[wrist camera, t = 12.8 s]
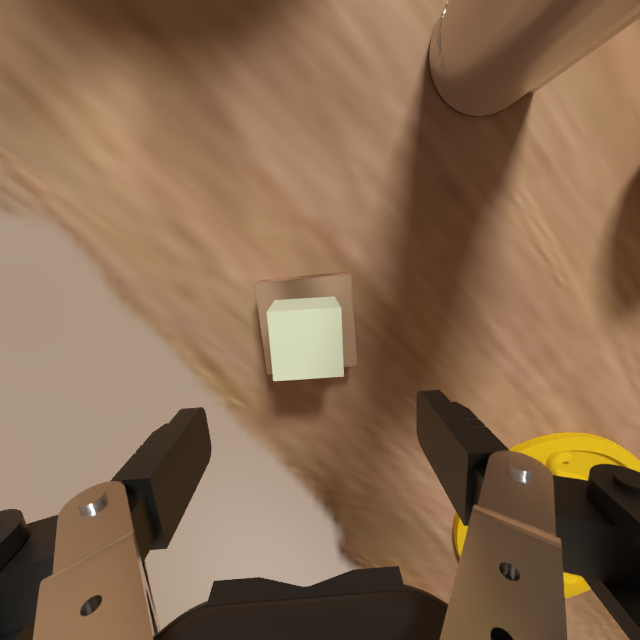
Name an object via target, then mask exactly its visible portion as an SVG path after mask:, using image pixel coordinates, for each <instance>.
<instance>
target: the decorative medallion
mask: <svg viewBox="0 0 640 640" xmlns="http://www.w3.org/2000/svg"><path fill="white" fill-rule="evenodd" d="M509 450H510V451H514V452H519V453H523V454H526V455H528V456H530V457H533V458H534V459H536V460H538V461H540V462H541V463H542V464H544V465H545V466H546V467H547V468H548V469H549V470H550V472H551V473H552V475H556V476H562V477H569V478H575V479H582V480H588V477H589V471H590V469H591V467H593V466H594V465H598V464H613V465H618V466H623V467H626V468H629V469H632V470H635V471H638V472H640V461H639V460H638V459H637V458H636V457H635V456H634V455H632V454H631V453H629V452H628V451H627V450H625V449H624V448H622V447H621V446H619V445H618V444H616V443H614V442H612V441H610V440H608V439H606V438H603V437H599V436H596V435H592V434H586V433H572V432H567V433H555V434H550V435H545V436H541V437H537V438H534V439H531V440H528V441H526V442H523V443H521V444H519V445H516V446H514V447H513V448H511V449H509ZM467 529H468V526H464V525H463V523H462V521H461V519H460V517H459V516H458V514H457V512H456V515H455V519H454V529H453V535H454V544H455V547H456V551H457V554H458V556H459V558H460V557H461V553H462V549H463V545H464V541H465V537H466V533H467ZM563 578H564V594H565V598H568V597H572V596H575V595H578V594H580V593H583V592H585V591H587V590H589V589H591V588H590V586H589V585H588V584H587V582H586V581H585V580H584V578H583V577H582V576H578V575H573V574H569V573H565V572H563Z"/></svg>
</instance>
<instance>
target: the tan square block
mask: <svg viewBox="0 0 640 640" xmlns="http://www.w3.org/2000/svg"><path fill="white" fill-rule="evenodd" d="M255 292H256V299H257V306H258V313H259V320H260V327H261V334H262V341H263V348H264V355H265V362H266V370H267V375H268V374H273V372H272V362H271V352H270V342H269V331H268V321H267V311H268V309H269V308H270V306H271V305H272V303H273V302H274V300H285V299H301V298H318V297H334V296H335V298H336V300H337V301H338V303H339V305H340V306H341V314H342V340H343V365H344V367H348V366H357V353H356V338H355V323H354V308H353V293H352V278H351V274H349V273H347V272H341V273H330V274H320V275H309V276H299V277H288V278H278V279H267V280H261V281H259V282H257V283H255Z"/></svg>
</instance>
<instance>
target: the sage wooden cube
mask: <svg viewBox="0 0 640 640" xmlns="http://www.w3.org/2000/svg"><path fill="white" fill-rule="evenodd" d="M267 321H268V331H269V342H270V352H271V362H272V372H273V381H286V380H300V379H315V378H330V377H344V365H343V340H342V314H341V306H340V305H339V303H338V301H337V300H336V298H335V296H334V297H318V298H301V299H285V300H274V302H273V303H272V305H271V306H270V308H269V309H268V311H267Z"/></svg>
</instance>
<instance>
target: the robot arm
mask: <svg viewBox="0 0 640 640" xmlns="http://www.w3.org/2000/svg"><path fill="white" fill-rule="evenodd" d="M639 18H640V0H449V1H448V3H447V4H446V6H445V8H444V10H443V12H442V14H441V15H440V17H439V19H438V22H437V24H436V26H435V28H434V31H433V35H432V38H431V42H430V51H429V62H430V71H431V75H432V79H433V82H434V84H435V86H436V88H437V90H438V92H439V94H440V95H441V97H442V98H443V99H444V100H445V102H446V103H447V104H449V105H450V106H451V107H453V108H454V109H455V110H457V111H459V112H462V113H464V114H467V115H472V116H486V115H490V114H494V113H497V112H499V111H501V110H503V109H505V108H506V107H508V106H510V105H511V104H513V103H514V102H515V101H517V100H518V99H519V98H521V97H522V96H524V95H525V94H527V93H534V92H536V91H537V90H539V89H540V88H542V87H543V86H544V85H546V84H547V83H549V82H550V81H551V80H553V79H554V78H556V77H557V76H559V75H560V74H561V73H563V72H564V71H566V70H567V69H568V68H570V67H571V66H573V65H574V64H575V63H577V62H578V61H580V60H581V59H583V58H584V57H585V56H587V55H588V54H590V53H591V52H592V51H594V50H595V49H597V48H598V47H600V46H601V45H602V44H604V43H605V42H607V41H608V40H609V39H611V38H612V37H614V36H615V35H616V34H618V33H619V32H621V31H622V30H624V29H625V28H626V27H628V26H629V25H631V24H632V23H633V22H635V21H636V20H638V19H639ZM417 436H418V440H419V444H420V446H421V448H422V450H423V452H424V453H425V455H426V457H427V459H428V461H429V463H430V464H431V466H432V468H433V470H434V472H435V473H436V475H437V477H438V479H439V481H440V483H441V484H442V486H443V488H444V490H445V492H446V494H447V495H448V497H449V499H450V501H451V503H452V505H453V506H454V508H455V510H456V512H457V514H458V516H459V517H460V519H461V521H462V523H463V525H464V526H468V529H467V533H466V537H465V541H464V545H463V549H462V553H461V557H460V561H459V565H458V569H457V573H456V577H455V580H454V584H453V588H452V592H451V596H450V600H449V604H447V603H445V602H444V601H442V600H441V599H439V598H437V597H436V596H434V595H432V594H430V593H428V592H426V591H424V590H421V589H418V588H415V587H412V586H409V585H404V584H403V581H402V577H401V573H400V569H399V566H395V567H382V568H370V569H357V570H352V571H349V572H346V573H344V574H341V575H338V576H336V577H333V578H330V579H328V580H325V581H322V582H320V583H317V584H315V585H312V586H308V587H301V586H296V585H292V584H287V583H283V582H278V581H274V580H269V579H264V578H260V577H258V578H246V579H233V580H221V581H214V582H213V586H212V589H211V592H210V596H209V599H208V601H206V602H204V603H202V604H199V605H197V606H195V607H193V608H192V609H190V610H188V611H187V612H185V613H183V614H182V615H180V616H179V617H177V618H176V619H175V620H173V621H172V622H171V623H169V624H168V625H167V626H166V627H164V628H163V629H162V630H161V631H160V627H159V623H158V618H157V613H156V608H155V604H154V600H153V595H152V591H151V586H150V581H149V576H148V572H147V567H146V564H145V558H146V556H147V554H148V553H149V551H150V550H156V549H167V547H168V545H169V543H170V541H171V539H172V537H173V535H174V533H175V531H176V529H177V527H178V525H179V523H180V521H181V518H182V516H183V514H184V512H185V510H186V508H187V506H188V504H189V502H190V500H191V498H192V496H193V494H194V492H195V490H196V488H197V485H198V484H199V481H200V479H201V477H202V475H203V473H204V471H205V469H206V467H207V465H208V463H209V461H210V457H211V440H210V435H209V429H208V424H207V418H206V413H205V410H204V409H203V408H202V407H200V408H188V409H187V408H186V409H181V410H179V412H178V413H177V414H176V415H175V416H174V418H173V419H172V420H171V421H170V422H169V423H168V424H164V425H163V426H162V427H160V428H159V429H157V430H156V431H154V432H153V433H152V434H151V435H150V436H149V437H148V438H147V440H146V441H145V442H144V444H143V445H141V446H140V448H139V449H138V450H137V451H136V454H133V456H132V457H131V458H130V459H129V460H128V461H127V462H126V464H125V465H124V466H123V467H122V468H121V469H120V471H119V472H118V473H117V474H116V475H115V476H114V477H113V479H112V480H111V481H110V482H104V483H101V484H98V485H95V486H92V487H90V488H88V489H86V490H84V491H83V492H81V493H79V494H78V495H76V496H75V497H74V498H72V499H71V500H70V501H69V502H68V503H67V504H66V505H65V506H64V507H63V508H62V510H61V511H60V513H59V515H56V516H52V517H49V518H46V519H43V520H39V521H36V522H32V523H29V524H26V522H25V520H24V517H23V514H22V512H21V511H20V510H17V509H9V510H3V511H0V640H567V627H566V611H565V594H564V578H563V572H565V573H569V574H573V575H578V576H582V577H583V578H584V580H585V581H586V582H587V584H588V585H589V586H590V588H591V589H592V590H593V592H594V593H595V594H596V596H597V597H598V598H599V599H600V601H601V602H602V603H603V605H604V606H605V607H606V609H607V610H608V611H609V613H610V614H611V615H612V617H613V618H614V619H615V620H616V622H617V623H618V624H619V626H620V627H621V628H622V630H623V631H624V632H625V634H626V635H627V636H628V637H629V639H630V640H640V472H638V471H635V470H632V469H629V468H626V467H623V466H618V465H613V464H598V465H594V466H593V467H591V469H590V471H589V477H588V480H582V479H575V478H569V477H562V476H556V475H552V473H551V472H550V470H549V469H548V468H547V467H546V466H545V465H544V464H542V463H541V462H540V461H538V460H536V459H534V458H533V457H530V456H528V455H526V454H523V453H519V452H514V451H510V450H509V449H508V448H507V447H506V446H505V445H504V444H503V443H502V442H501V441H500V440H499V439H498V438H497V437H496V436H495V435H494V434H493V433H492V432H491V431H490V430H489V429H488V428H487V427H485V425H484V424H483V423H482V422H481V421H480V420H478V418H477V417H476V416H475V415H474V414H473V413H472V412H471V411H470V409H468V408H466V407H464V406H463V405H461V404H459V403H457V402H450V401H449V400H448V399H447V397H446V396H445V395H444V394H443V393H442V392H441V391H440V390H428V391H418V393H417Z"/></svg>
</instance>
